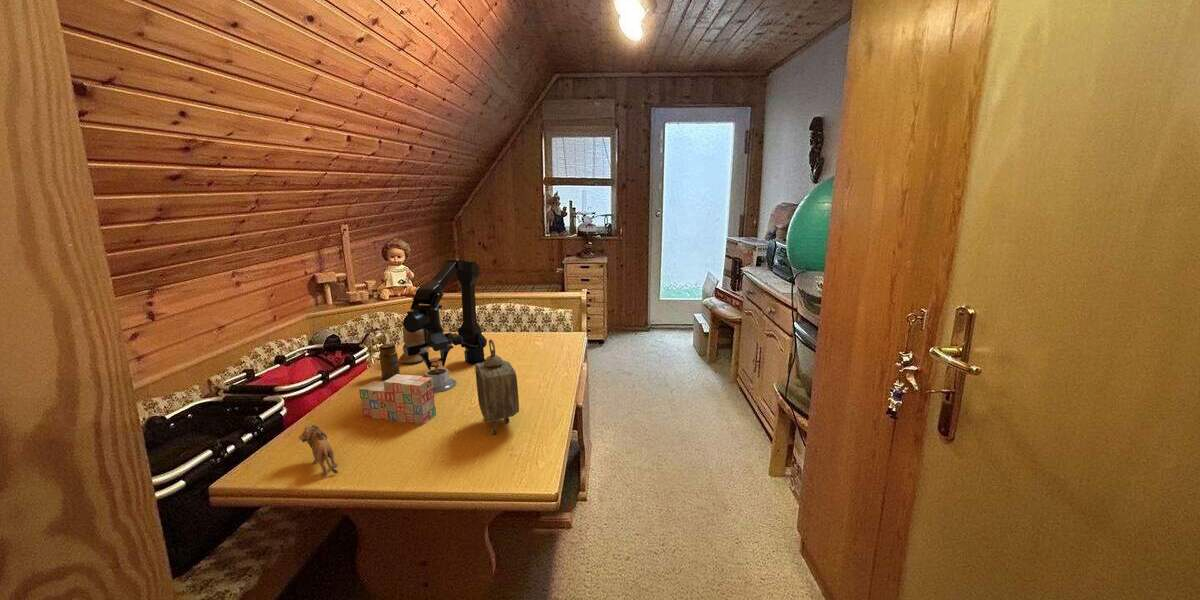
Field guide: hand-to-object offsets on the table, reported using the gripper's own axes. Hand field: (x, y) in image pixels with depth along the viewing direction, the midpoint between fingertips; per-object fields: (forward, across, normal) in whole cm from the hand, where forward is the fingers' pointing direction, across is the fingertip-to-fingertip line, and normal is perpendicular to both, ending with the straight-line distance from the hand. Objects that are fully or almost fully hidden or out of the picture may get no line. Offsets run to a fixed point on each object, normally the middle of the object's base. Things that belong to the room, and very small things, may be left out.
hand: (436, 367), depth 163 cm
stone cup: (+7, +4, +34) cm, 35 cm away
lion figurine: (+7, -40, -30) cm, 50 cm away
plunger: (+5, 0, 0) cm, 5 cm away
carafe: (+6, -1, 0) cm, 6 cm away
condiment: (+7, -10, +20) cm, 23 cm away
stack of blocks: (+7, -17, -15) cm, 24 cm away
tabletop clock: (+7, +3, -40) cm, 41 cm away
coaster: (+6, 0, 0) cm, 6 cm away
